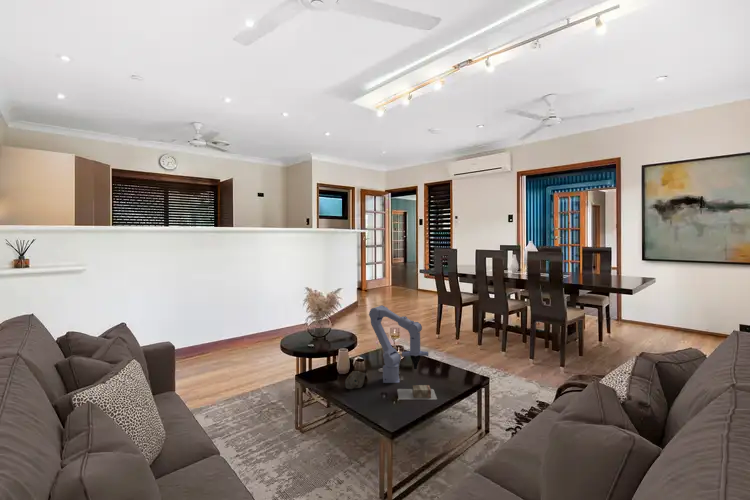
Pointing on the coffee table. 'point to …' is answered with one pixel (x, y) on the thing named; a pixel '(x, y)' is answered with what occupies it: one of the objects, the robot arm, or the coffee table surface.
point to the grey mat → (408, 395)
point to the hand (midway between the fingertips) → (415, 368)
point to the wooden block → (421, 391)
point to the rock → (355, 380)
